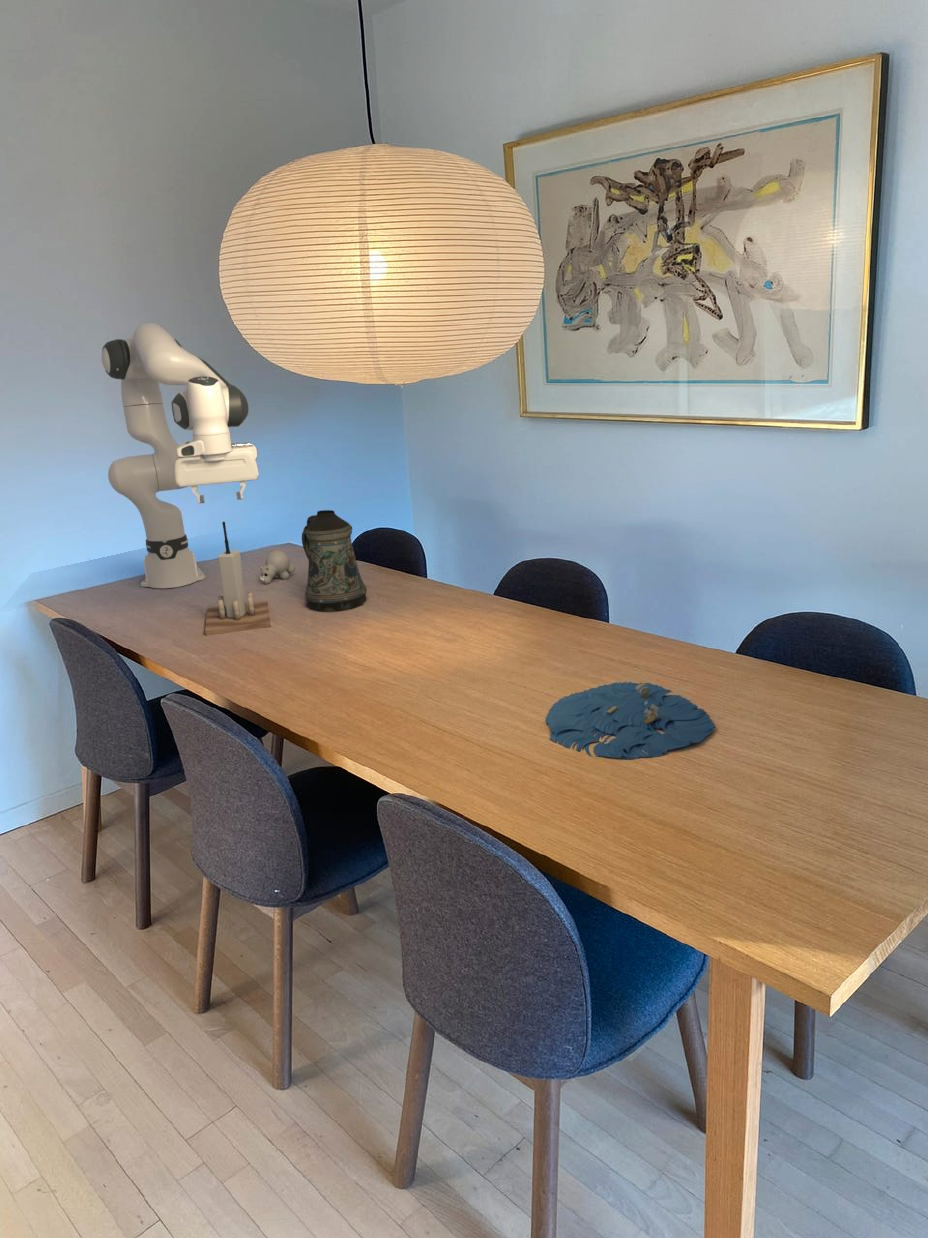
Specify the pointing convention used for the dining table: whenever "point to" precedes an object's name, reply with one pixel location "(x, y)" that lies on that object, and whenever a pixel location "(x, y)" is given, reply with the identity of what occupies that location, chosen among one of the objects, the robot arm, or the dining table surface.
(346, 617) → the dining table surface
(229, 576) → the vintage mobile phone
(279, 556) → the round bodied animal figurine
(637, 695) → the decorative plate
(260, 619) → the pin dock
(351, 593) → the beer stein
